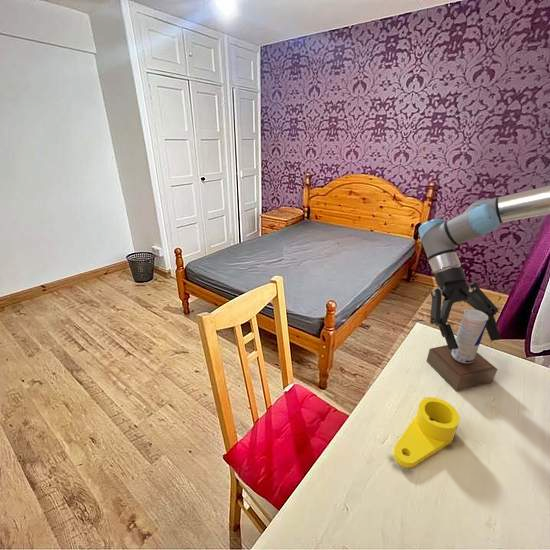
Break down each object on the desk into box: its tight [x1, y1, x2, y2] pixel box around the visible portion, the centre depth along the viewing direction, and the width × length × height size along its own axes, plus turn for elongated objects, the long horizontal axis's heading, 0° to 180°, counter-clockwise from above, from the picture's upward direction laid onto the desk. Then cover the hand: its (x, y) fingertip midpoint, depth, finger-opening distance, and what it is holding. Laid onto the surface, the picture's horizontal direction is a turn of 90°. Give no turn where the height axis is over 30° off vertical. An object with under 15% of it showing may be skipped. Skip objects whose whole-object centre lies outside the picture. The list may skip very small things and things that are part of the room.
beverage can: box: [451, 308, 488, 364], centre depth 84 cm, size 6×6×15 cm
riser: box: [426, 344, 498, 392], centre depth 88 cm, size 12×12×5 cm
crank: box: [392, 396, 460, 469], centre depth 69 cm, size 18×8×6 cm, turn 125°
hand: (475, 344), depth 82 cm, fingers open, 13 cm apart
